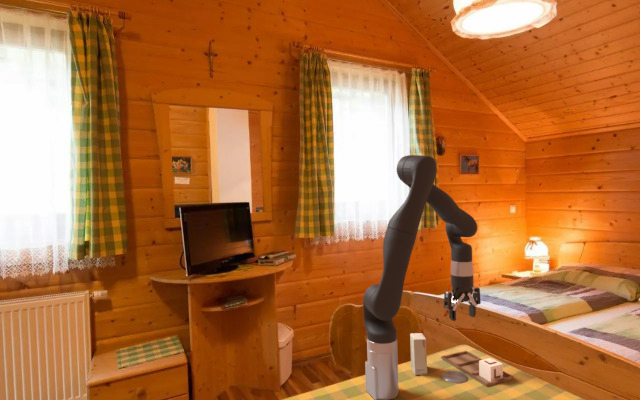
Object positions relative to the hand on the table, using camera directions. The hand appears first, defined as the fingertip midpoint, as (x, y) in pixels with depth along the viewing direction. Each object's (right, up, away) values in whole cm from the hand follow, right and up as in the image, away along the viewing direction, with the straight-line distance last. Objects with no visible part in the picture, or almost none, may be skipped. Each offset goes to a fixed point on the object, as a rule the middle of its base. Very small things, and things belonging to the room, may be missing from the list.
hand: (462, 318), depth 140 cm
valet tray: (+3, -16, -4) cm, 17 cm away
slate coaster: (-6, -17, -10) cm, 21 cm away
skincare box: (-17, -17, -4) cm, 24 cm away
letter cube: (+5, -16, -11) cm, 20 cm away
